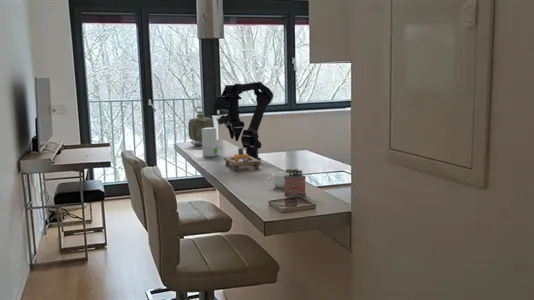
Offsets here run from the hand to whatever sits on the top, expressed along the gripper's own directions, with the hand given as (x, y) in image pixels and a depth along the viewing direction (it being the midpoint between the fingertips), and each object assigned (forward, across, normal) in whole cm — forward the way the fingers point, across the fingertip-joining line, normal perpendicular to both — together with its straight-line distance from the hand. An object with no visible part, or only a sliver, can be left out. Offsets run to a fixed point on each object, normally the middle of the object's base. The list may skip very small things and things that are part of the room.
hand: (234, 139), depth 255 cm
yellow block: (+10, +11, 0) cm, 15 cm away
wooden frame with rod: (+12, +11, 0) cm, 16 cm away
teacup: (+12, +60, +3) cm, 61 cm away
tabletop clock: (+12, -73, -4) cm, 74 cm away
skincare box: (+12, -31, -6) cm, 34 cm away
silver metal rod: (+8, +11, 0) cm, 14 cm away
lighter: (+12, +76, +3) cm, 77 cm away
